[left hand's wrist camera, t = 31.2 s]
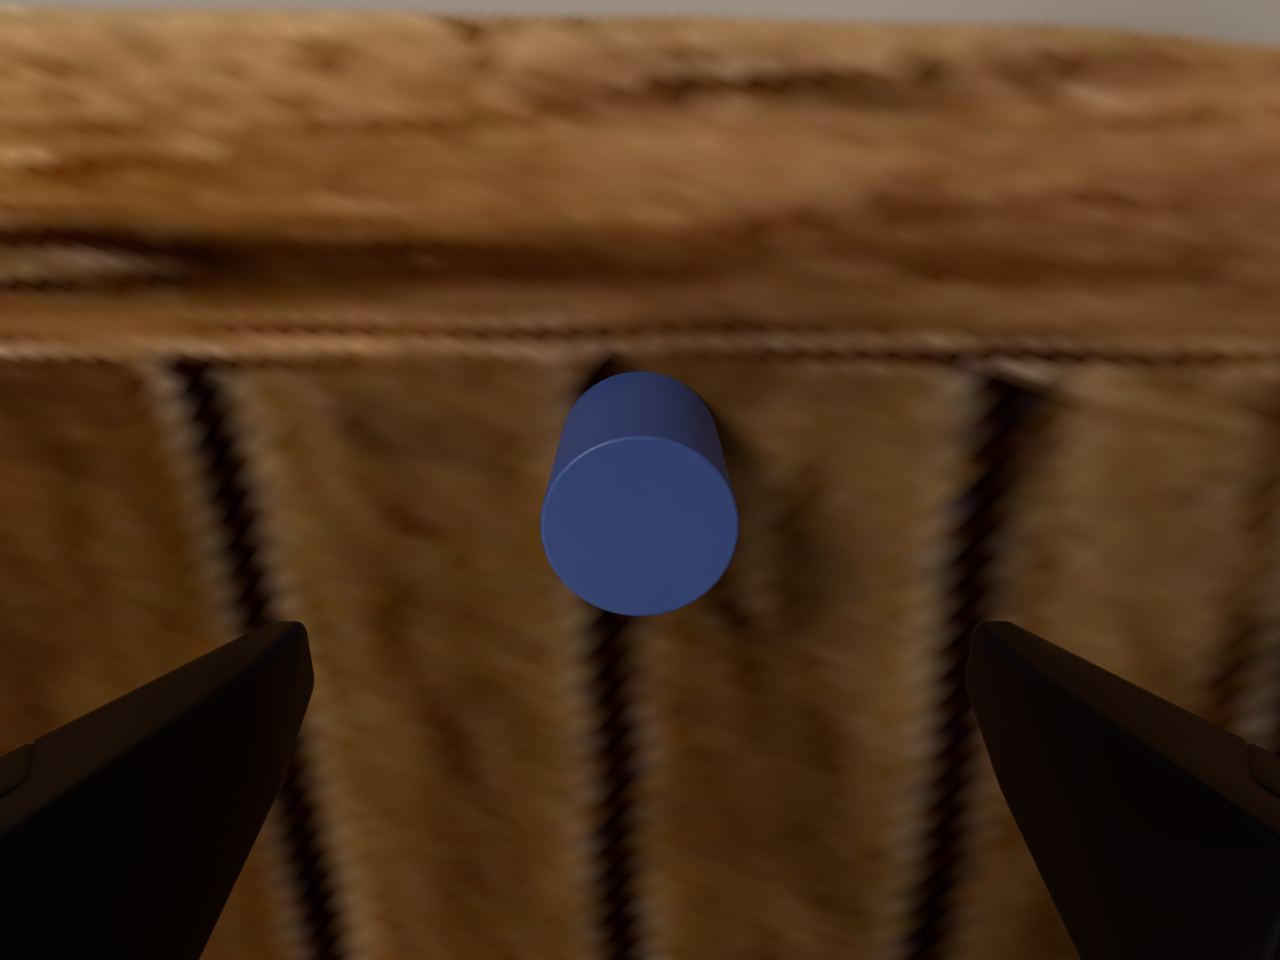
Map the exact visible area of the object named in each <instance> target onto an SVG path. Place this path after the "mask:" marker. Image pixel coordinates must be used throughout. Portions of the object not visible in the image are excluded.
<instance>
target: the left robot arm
mask: <svg viewBox="0 0 1280 960" xmlns="http://www.w3.org/2000/svg"><path fill="white" fill-rule="evenodd" d="M313 686H314V672H313V666H312V660H311V654H310V648H309V642H308V636H307V631H306V629H305V627H304V625H303V624H302V623H301V622H297V621H274V622H269V623H267V624H265V625H263V626H261V627H259V628H257V629H255V630H253V631H251V632H249V633H247V634H245V635H243V636H241V637H239V638H237V639H235V640H233V641H231V642H229V643H227V644H225V645H223V646H221V647H219V648H217V649H215V650H213V651H211V652H209V653H207V654H205V655H203V656H201V657H199V658H197V659H195V660H193V661H191V662H189V663H187V664H185V665H183V666H181V667H179V668H178V669H176V670H174V671H172V672H170V673H168V674H166V675H164V676H162V677H160V678H158V679H156V680H154V681H152V682H150V683H148V684H146V685H144V686H142V687H140V688H138V689H136V690H134V691H132V692H130V693H128V694H126V695H124V696H122V697H120V698H118V699H116V700H114V701H112V702H110V703H108V704H106V705H104V706H102V707H100V708H98V709H96V710H94V711H92V712H90V713H88V714H86V715H84V716H82V717H80V718H78V719H76V720H74V721H72V722H70V723H68V724H66V725H64V726H62V727H60V728H58V729H56V730H54V731H52V732H50V733H48V734H46V735H44V736H42V737H40V738H38V739H36V740H35V741H34V743H33V745H32V744H26V745H24V746H22V747H20V748H18V749H16V750H14V751H12V752H10V753H8V754H6V755H4V756H2V757H0V960H199V959H200V957H201V954H202V952H203V950H204V948H205V946H206V944H207V942H208V940H209V937H210V935H211V933H212V931H213V929H214V927H215V925H216V923H217V921H218V918H219V916H220V914H221V912H222V910H223V908H224V906H225V904H226V902H227V899H228V897H229V895H230V893H231V891H232V889H233V887H234V885H235V882H236V880H237V878H238V876H239V874H240V872H241V870H242V868H243V866H244V863H245V861H246V859H247V857H248V855H249V853H250V851H251V849H252V847H253V844H254V842H255V840H256V838H257V836H258V834H259V832H260V830H261V827H262V825H263V823H264V821H265V819H266V817H267V815H268V813H269V811H270V808H271V806H272V804H273V802H274V800H275V797H276V795H277V793H278V791H279V788H280V786H281V783H282V780H283V777H284V775H285V772H286V769H287V766H288V763H289V760H290V757H291V754H292V751H293V748H294V745H295V742H296V739H297V736H298V733H299V730H300V727H301V724H302V721H303V718H304V715H305V712H306V709H307V706H308V703H309V700H310V697H311V694H312V691H313ZM966 686H967V691H968V694H969V697H970V700H971V703H972V706H973V709H974V712H975V715H976V718H977V721H978V724H979V727H980V730H981V733H982V736H983V739H984V742H985V745H986V748H987V751H988V754H989V757H990V760H991V763H992V766H993V769H994V772H995V775H996V777H997V780H998V783H999V786H1000V788H1001V791H1002V793H1003V795H1004V797H1005V800H1006V802H1007V804H1008V806H1009V808H1010V811H1011V813H1012V815H1013V817H1014V819H1015V821H1016V823H1017V825H1018V827H1019V830H1020V832H1021V834H1022V836H1023V838H1024V840H1025V842H1026V844H1027V847H1028V849H1029V851H1030V853H1031V855H1032V857H1033V859H1034V861H1035V863H1036V866H1037V868H1038V870H1039V872H1040V874H1041V876H1042V878H1043V880H1044V882H1045V885H1046V887H1047V889H1048V891H1049V893H1050V895H1051V897H1052V899H1053V902H1054V904H1055V906H1056V908H1057V910H1058V912H1059V914H1060V916H1061V918H1062V921H1063V923H1064V925H1065V927H1066V929H1067V931H1068V933H1069V935H1070V938H1071V940H1072V942H1073V944H1074V946H1075V948H1076V950H1077V952H1078V954H1079V957H1080V959H1081V960H1280V757H1278V756H1276V755H1274V754H1272V753H1270V752H1268V751H1266V750H1264V749H1262V748H1260V747H1258V746H1256V745H1254V744H1248V745H1247V743H1246V741H1245V740H1244V739H1242V738H1240V737H1238V736H1236V735H1234V734H1232V733H1230V732H1228V731H1226V730H1224V729H1222V728H1220V727H1218V726H1216V725H1214V724H1212V723H1210V722H1208V721H1206V720H1204V719H1202V718H1200V717H1198V716H1196V715H1194V714H1192V713H1190V712H1188V711H1186V710H1184V709H1182V708H1180V707H1178V706H1176V705H1174V704H1172V703H1170V702H1168V701H1166V700H1164V699H1162V698H1160V697H1158V696H1156V695H1154V694H1152V693H1150V692H1148V691H1146V690H1144V689H1142V688H1140V687H1138V686H1136V685H1134V684H1132V683H1130V682H1128V681H1126V680H1124V679H1122V678H1120V677H1118V676H1116V675H1114V674H1112V673H1110V672H1108V671H1106V670H1104V669H1103V668H1101V667H1099V666H1097V665H1095V664H1093V663H1091V662H1089V661H1087V660H1085V659H1083V658H1081V657H1079V656H1077V655H1075V654H1073V653H1071V652H1069V651H1067V650H1065V649H1063V648H1061V647H1059V646H1057V645H1055V644H1053V643H1051V642H1049V641H1047V640H1045V639H1043V638H1041V637H1039V636H1037V635H1035V634H1033V633H1031V632H1029V631H1027V630H1025V629H1023V628H1021V627H1019V626H1017V625H1015V624H1013V623H1011V622H1006V621H983V622H979V623H978V624H977V625H976V627H975V629H974V631H973V636H972V642H971V648H970V654H969V660H968V666H967V672H966Z"/></svg>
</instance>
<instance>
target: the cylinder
mask: <svg viewBox="0 0 1280 960" xmlns="http://www.w3.org/2000/svg"><path fill="white" fill-rule="evenodd" d="M540 528H541V537H542V543H543V547H544V551H545V553H546V556H547V558H548V561H549V563H550V564H551V566H552V568H553V570H554V571H555V573H556V574H557V575H558V577H559V578H560V579H561V581H562V582H563V583H564V584H565V585H566V586H567V587H568V588H569V589H570V590H571V591H572V592H574V593H575V594H576V595H578V596H579V597H580V598H582V599H583V600H585V601H587V602H588V603H590V604H592V605H594V606H596V607H599V608H601V609H603V610H607V611H610V612H613V613H618V614H623V615H632V616H649V615H657V614H663V613H667V612H670V611H674V610H676V609H679V608H681V607H684V606H686V605H688V604H690V603H692V602H693V601H695V600H697V599H698V598H700V597H701V596H702V595H704V594H705V593H706V592H708V591H709V590H710V589H711V588H712V587H713V586H714V585H715V584H716V583H717V582H718V580H719V579H720V578H721V577H722V575H723V574H724V573H725V571H726V569H727V568H728V566H729V564H730V562H731V560H732V558H733V555H734V553H735V550H736V546H737V543H738V536H739V514H738V508H737V504H736V500H735V496H734V492H733V488H732V485H731V481H730V477H729V473H728V469H727V466H726V462H725V458H724V454H723V451H722V447H721V443H720V439H719V435H718V432H717V428H716V425H715V422H714V419H713V417H712V415H711V413H710V411H709V409H708V408H707V406H706V405H705V403H704V402H703V401H702V400H701V398H700V397H699V396H698V395H697V394H696V393H695V392H693V391H692V390H691V389H690V388H689V387H687V386H686V385H684V384H683V383H681V382H679V381H677V380H675V379H673V378H671V377H668V376H665V375H662V374H657V373H652V372H628V373H623V374H618V375H615V376H612V377H609V378H607V379H605V380H603V381H601V382H599V383H597V384H596V385H594V386H593V387H591V388H590V389H589V390H588V391H586V392H585V393H584V394H583V395H582V396H581V397H580V398H579V400H578V401H577V402H576V403H575V405H574V406H573V408H572V409H571V411H570V413H569V415H568V417H567V419H566V422H565V425H564V428H563V431H562V435H561V439H560V443H559V446H558V450H557V454H556V458H555V462H554V465H553V469H552V473H551V477H550V480H549V484H548V488H547V492H546V495H545V499H544V503H543V508H542V513H541V527H540Z"/></svg>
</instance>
